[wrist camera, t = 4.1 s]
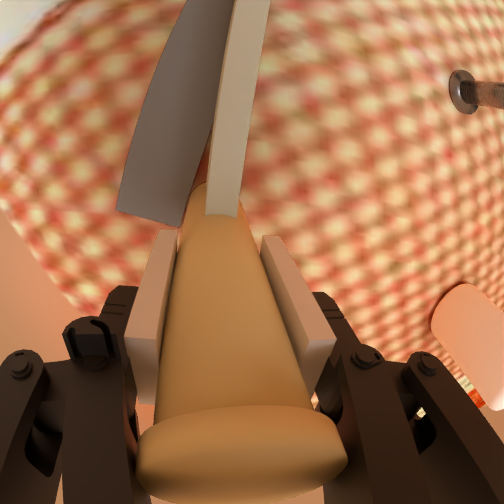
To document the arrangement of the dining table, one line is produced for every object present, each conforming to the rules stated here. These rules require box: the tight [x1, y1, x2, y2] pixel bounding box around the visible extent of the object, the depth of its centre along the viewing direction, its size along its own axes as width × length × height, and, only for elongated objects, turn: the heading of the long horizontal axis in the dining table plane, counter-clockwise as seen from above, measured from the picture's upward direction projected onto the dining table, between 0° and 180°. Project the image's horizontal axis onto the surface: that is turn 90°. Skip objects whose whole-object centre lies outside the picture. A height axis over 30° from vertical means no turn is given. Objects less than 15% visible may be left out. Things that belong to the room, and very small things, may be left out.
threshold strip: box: [116, 0, 235, 228], centre depth 16 cm, size 24×5×1 cm, turn 159°
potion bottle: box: [431, 283, 504, 411], centre depth 23 cm, size 8×8×18 cm
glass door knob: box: [449, 70, 504, 114], centre depth 15 cm, size 4×4×9 cm
